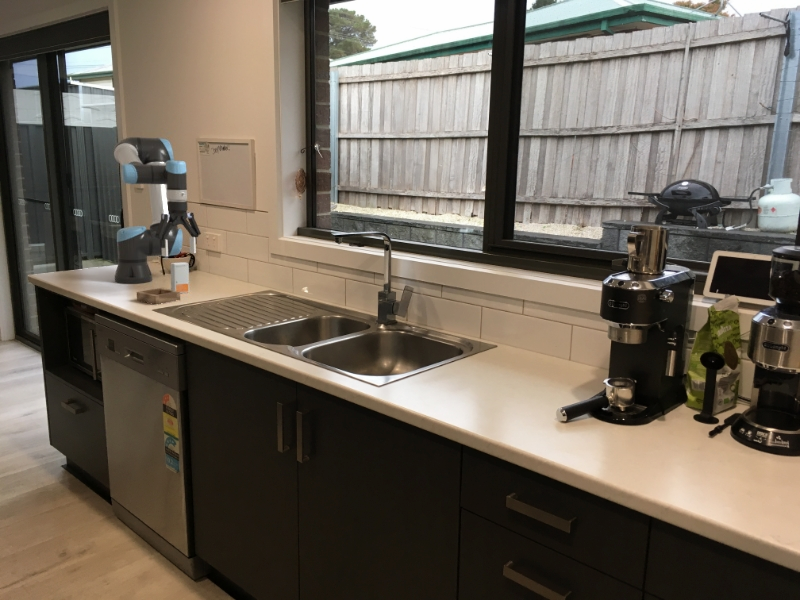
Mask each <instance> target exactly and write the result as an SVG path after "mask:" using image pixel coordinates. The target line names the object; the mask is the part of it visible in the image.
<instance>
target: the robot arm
mask: <svg viewBox="0 0 800 600" xmlns="http://www.w3.org/2000/svg"><path fill="white" fill-rule="evenodd" d="M112 154H113V156H114V157H113V158H114V159H115V160H116V162H117V163H119V164H120V165H121V166H120V167H121V169H120V171H121V172H120V174H121V180H122V182H123V183H124V184H127V185H128V184H129V185H148V190H149V191H148V192H149V199H150V200H149V201H150V208H151V209H150V210H151V217H152V223H150V225H149V229H147V227H146V226H144V225H138V226H137V225H135V226H128V227H123V228H120V229H118V230H117V232H116V243H117V262H118V263H117V266H116V271H115V274H114V282H115V283H119V284H142V283H143V284H144V283H149V282H152V281H153V274H152V271H151V269H150V267H149V264H148V257H157V256H158V257H160V256H161V257H170V256H177V255H179V254H180V253H181V250H182V247H183V240H184V239H183V237H184V236H183V230H182V228H179V227H178V225H182V226H183V227H184V228H185V230H186V231H187V232H188V234H189V254H190V253H191V254H197V249H196V248H197V247H196V246H197V244H198V243H197V242H198V241H197V239H198V237H199V236H201V234H202V232H201V231H200V228H199V226H198V224H197V222H196V219H195V214H194V212H191V211H189V212H188V210H189V209H188V207H189V206H188V201H187V200H188V190H187V189H188V183H187V171H188V169H187V163H186V161H183V160H174V159H175V158H174V152H173V146H172V145H171V143H170V141H169V140H168V139H166V138H160V137H142V136H141V137H139V136H138V137H137V136H132V137H126V138H123V139H121V140H120V141H118V142H117V143H116V144H115V145H114V148H113V153H112Z"/></svg>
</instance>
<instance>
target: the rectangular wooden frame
mask: <svg viewBox="0 0 800 600" xmlns="http://www.w3.org/2000/svg"><path fill="white" fill-rule="evenodd" d="M176 300H179V301H181V293H180V292H179V291H174V290H171V289H168V288H164V287H159V288H153V289H147V290H140V291H136V301H137V302H141V301H142V302H141V303H145V302H148V303H147V304H150V303H152V304H151V305H154V304H158V305H162V304H161V303H163V304H167V303H166V302H169V303H172V302H171V301H174V302H177V301H176Z"/></svg>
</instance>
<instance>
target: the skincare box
mask: <svg viewBox="0 0 800 600" xmlns="http://www.w3.org/2000/svg"><path fill="white" fill-rule="evenodd" d="M189 267H190V265H189V263H188V262H185V261H184V262H183V261H182V262H171V263H170V290H174V291H179V292H180V294H188V293H187V292H189V293H190V279H189V278H190V269H189Z"/></svg>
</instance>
